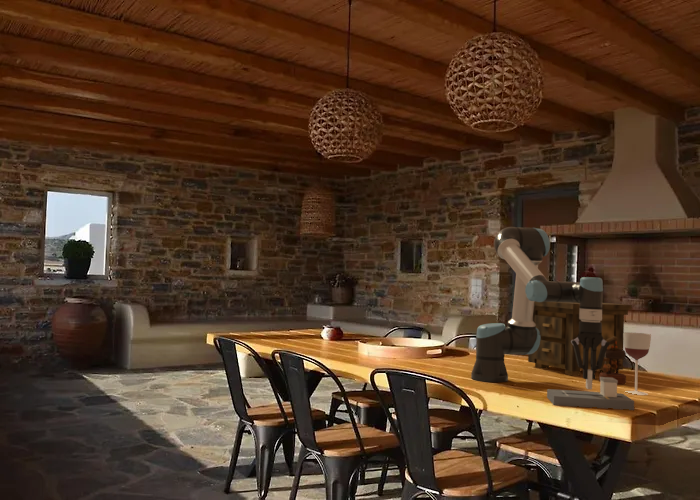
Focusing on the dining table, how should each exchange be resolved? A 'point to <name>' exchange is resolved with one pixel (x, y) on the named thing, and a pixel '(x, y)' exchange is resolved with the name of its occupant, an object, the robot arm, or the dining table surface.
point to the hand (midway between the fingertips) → (588, 388)
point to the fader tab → (608, 387)
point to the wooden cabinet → (572, 334)
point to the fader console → (589, 399)
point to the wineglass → (636, 351)
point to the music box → (613, 362)
